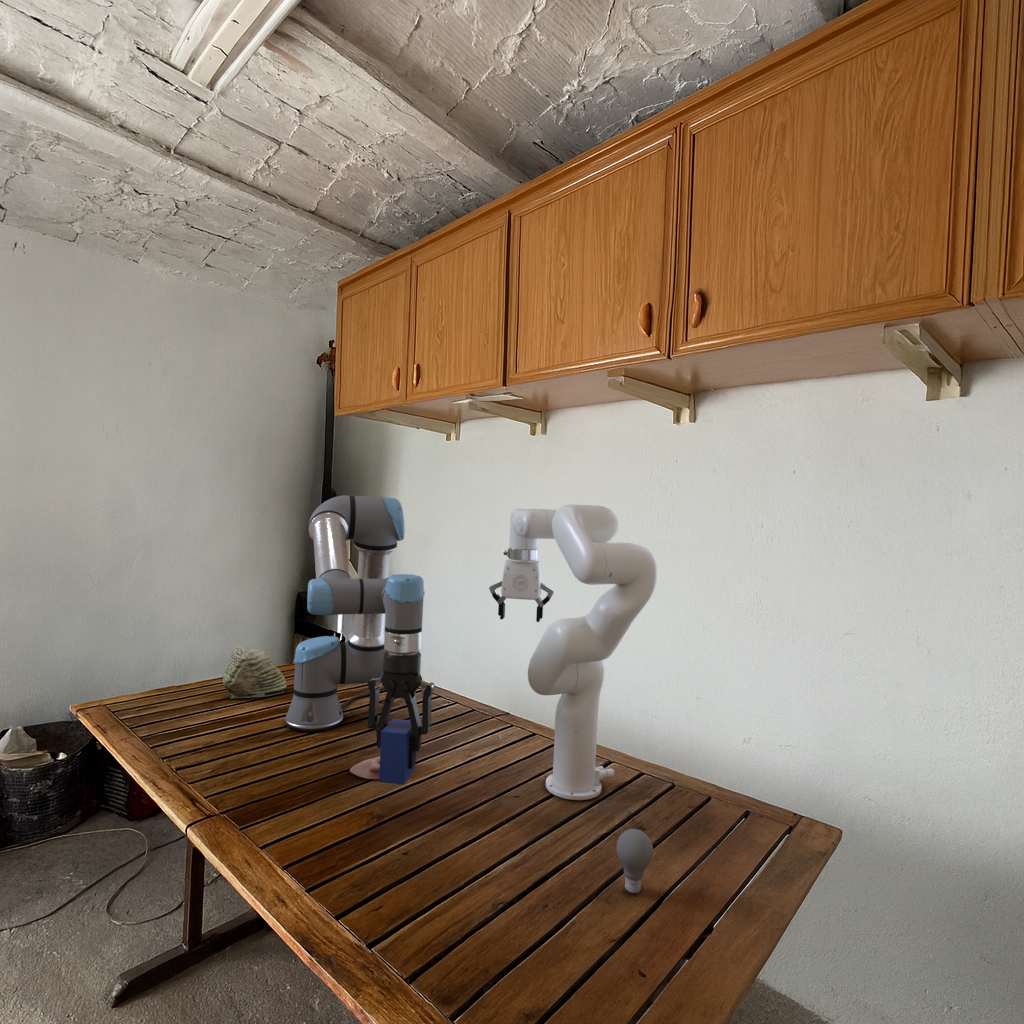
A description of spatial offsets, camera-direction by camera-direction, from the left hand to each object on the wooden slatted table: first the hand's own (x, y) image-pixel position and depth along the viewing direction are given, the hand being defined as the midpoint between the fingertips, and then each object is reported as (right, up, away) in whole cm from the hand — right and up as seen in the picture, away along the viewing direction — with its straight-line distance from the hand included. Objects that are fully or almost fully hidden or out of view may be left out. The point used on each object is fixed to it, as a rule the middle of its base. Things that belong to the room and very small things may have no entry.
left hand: (397, 764), depth 129 cm
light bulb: (+43, -12, -24) cm, 51 cm away
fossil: (-57, -6, +69) cm, 90 cm away
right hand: (+25, +23, +39) cm, 52 cm away
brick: (0, -2, 0) cm, 2 cm away
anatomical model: (-7, -9, +19) cm, 22 cm away
